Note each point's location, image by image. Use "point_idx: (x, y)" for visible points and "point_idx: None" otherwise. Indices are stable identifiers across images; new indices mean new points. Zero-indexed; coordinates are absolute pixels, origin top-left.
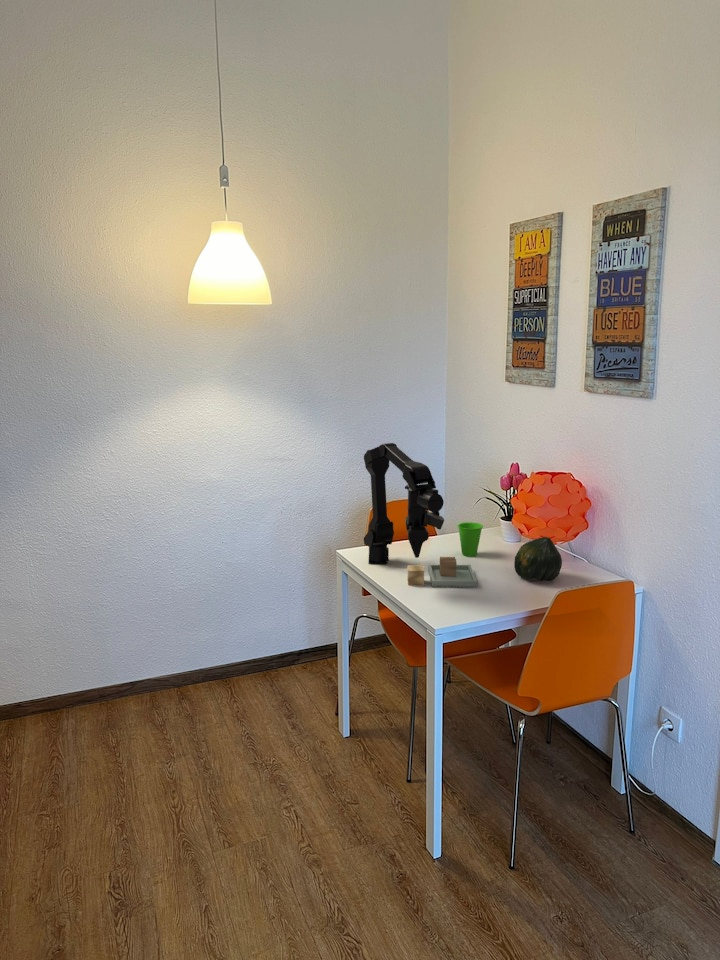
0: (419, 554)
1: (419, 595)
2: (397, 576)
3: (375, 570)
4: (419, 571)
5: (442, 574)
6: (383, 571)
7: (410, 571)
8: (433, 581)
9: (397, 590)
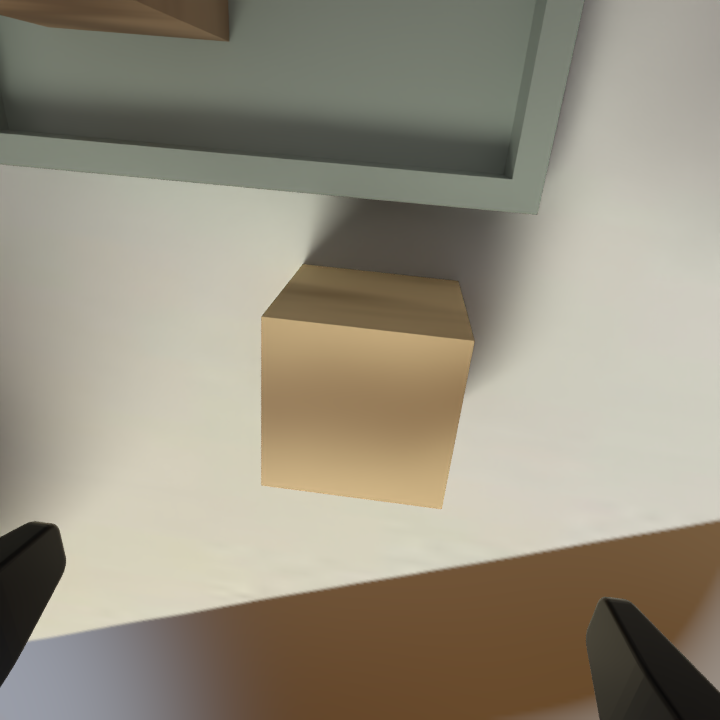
0: (687, 660)
1: (714, 366)
2: (215, 458)
3: (99, 570)
4: (464, 392)
5: (222, 12)
6: (112, 529)
7: (445, 483)
8: (538, 199)
9: (540, 507)
